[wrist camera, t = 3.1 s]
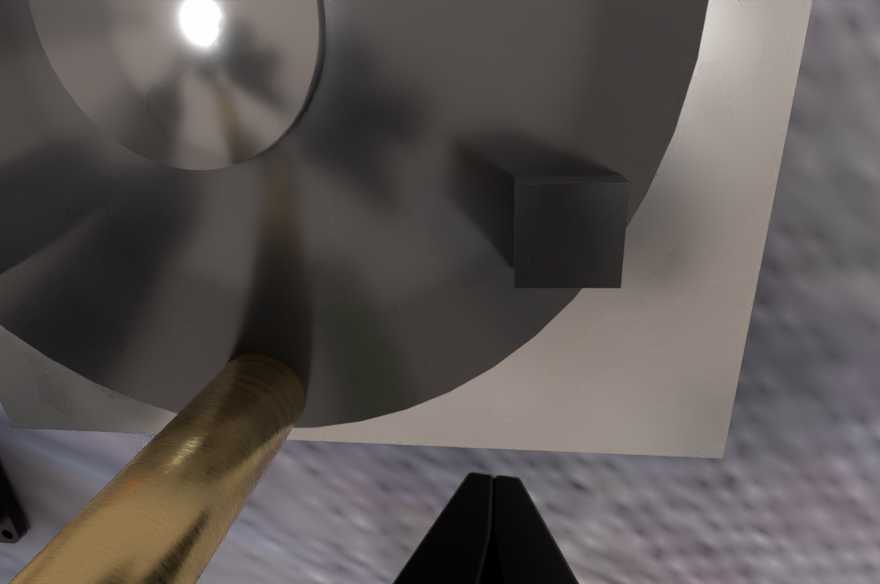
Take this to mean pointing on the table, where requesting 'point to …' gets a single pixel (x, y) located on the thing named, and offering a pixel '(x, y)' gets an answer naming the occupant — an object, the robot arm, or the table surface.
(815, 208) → the table surface
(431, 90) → the crank wheel
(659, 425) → the base plate
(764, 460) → the table surface
